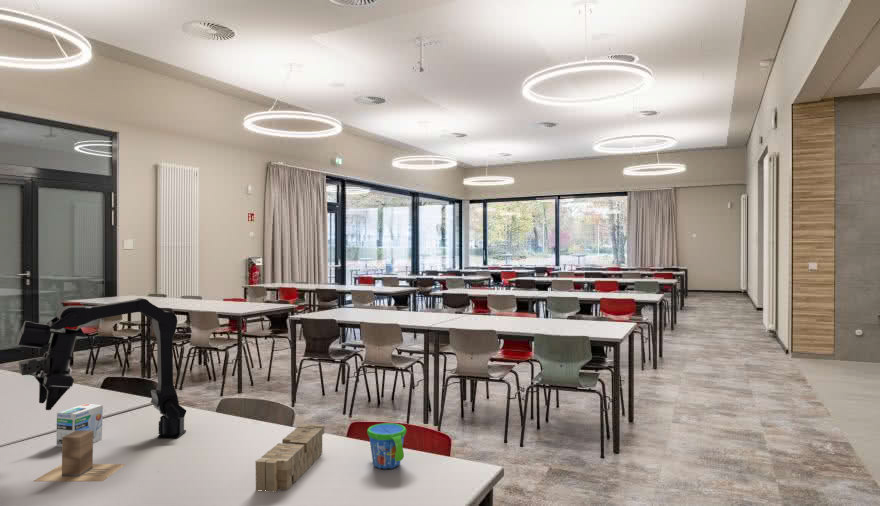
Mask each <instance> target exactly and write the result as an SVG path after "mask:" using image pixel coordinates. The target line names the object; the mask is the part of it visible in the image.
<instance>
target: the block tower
mask: <svg viewBox="0 0 880 506" xmlns="http://www.w3.org/2000/svg"><path fill="white" fill-rule="evenodd" d="M324 434H325V424H302V423H301V424H299V425H297V427H295V429H294V430H293V431H291V432H290V433H288V434H287V435H286V436H285V437H283V438H282V442H278V443H277V444H276V445H274V446H273V447H272V448H271V449H270V450H268V451H266V452H265V454H263V455H262V456H261V457H260V458H259V459H257V460H255V491H256V490H262V491H261V492H266V491H274V492H273V493H276V492H277V491H278V490H277V489H283V490H282V491H288V490H290V489H291V487H292V486H293V485H292V484H295V483H296V482H297V481H298V480H299V479H300V477H302V476H303V475H304V473H306V472H307V471H308V470H309V468H310V467H311V466H312V465H313V464H314V463H315V462H316V461H317V460H318V459H319V458H320V456H321V455H322V454H323V435H324ZM321 453H322V454H321ZM320 454H321V455H320ZM319 455H320V456H319ZM315 460H316V461H315ZM314 461H315V462H314ZM313 462H314V463H313ZM312 463H313V464H312ZM311 464H312V465H311ZM310 465H311V466H310ZM309 466H310V467H309ZM296 480H297V481H296ZM295 481H296V482H295ZM294 482H295V483H294ZM265 490H266V491H265ZM276 490H277V491H276ZM275 491H276V492H275Z"/></svg>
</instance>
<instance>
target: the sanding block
mask: <svg viewBox="0 0 880 506" xmlns="http://www.w3.org/2000/svg"><path fill="white" fill-rule="evenodd" d="M93 454H94V443H93V431H74V432H72V433H70V434H68V435H66V436H64V437H62V447H61V464H62V477H80V476H81V475H83V474H84V473H86V472H87V471H89V470H91V469H92V468H93V464H94V463H93V462H94V459H93V457H94V455H93Z"/></svg>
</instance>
